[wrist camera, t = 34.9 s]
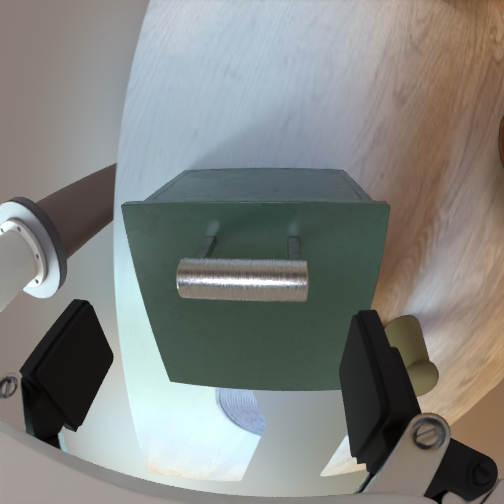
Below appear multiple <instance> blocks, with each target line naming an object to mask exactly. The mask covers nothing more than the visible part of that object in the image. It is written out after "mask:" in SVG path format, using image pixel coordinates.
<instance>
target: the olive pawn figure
mask: <svg viewBox="0 0 504 504" xmlns="http://www.w3.org/2000/svg"><path fill="white" fill-rule="evenodd" d="M384 330H385V333H386V336H387V338H388V341H389V343H390V346H391V347H397V348H398V350H399V352H400V354H401V357H402V359H403V362H404V364H405V367H406V370H407V372H408V375H409V378H410V381H411V383H412V386H413V389H414V392H415V395H416V397H418V396H422V395H424V394H426V393H428V392H429V391H431V390H432V389H433V388H434V387H435V386H436V384H437V382H438V378H439V372H438V370H437V368H436V366H435V365H434V363H432V362H430V360H429V356H428V352H427V349H426V345H425V341H424V338H423V334H422V330H421V327H420V324H419V321H418V319H417V318H415V317H414V316H409V315H407V316H401V317H399V318H396V319H395V320H393V321H391V322H390V323H389V324H388V325H387V326H386V328H385V329H384Z"/></svg>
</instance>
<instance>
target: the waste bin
mask: <svg viewBox="0 0 504 504" xmlns="http://www.w3.org/2000/svg"><path fill="white" fill-rule="evenodd" d="M196 198H323V199H350V200H371V201H373V200H372V199H371V198H370V197H369V196H368V195H367V194H366V193H365V192H364V190H363V189H362V188H361V187H360V186H359V185H358V184H357V183H356V182H355V181H354V180H353V179H352V178H351V177H350V176H349V175H348V174H347V173H346V172H345V171H344V170H333V169H306V168H234V169H206V170H187V171H183V172H182V173H180V174H179V175H178V176H176V177H175V178H173V179H172V180H171V181H169V182H168V183H167V184H165V185H164V186H163V187H161V188H160V189H159V190H157V191H156V192H155V193H153V194H152V195H151V196H149V197H148V198H147V199H145V200H144V201H148V200H169V199H196Z"/></svg>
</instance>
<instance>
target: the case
mask: <svg viewBox="0 0 504 504" xmlns="http://www.w3.org/2000/svg"><path fill="white" fill-rule="evenodd" d="M500 155H501V160H502V164H503V167H504V117H503V119H502V122H501V126H500Z"/></svg>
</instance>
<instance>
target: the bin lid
mask: <svg viewBox="0 0 504 504" xmlns="http://www.w3.org/2000/svg"><path fill="white" fill-rule="evenodd" d="M121 208H122V214H123V219H124V224H125V229H126V234H127V238H128V243H129V247H130V251H131V256H132V260H133V264H134V268H135V272H136V276H137V280H138V284H139V287H140V291H141V295H142V298H143V302H144V305H145V308H146V312H147V315H148V318H149V322H150V325H151V328H152V331H153V334H154V337H155V340H156V343H157V346H158V349H159V352H160V355H161V358H162V361H163V363H164V366H165V369H166V372H167V374H168V377H169V380H170V381H171V382H177V383H184V384H192V385H200V386H210V387H220V388H233V389H248V390H271V391H317V390H318V391H321V390H341V384H340V378H339V367H340V363H341V359H342V356H343V352H344V348H345V344H346V340H347V336H348V332H349V328H350V324H351V319H352V316H353V315H357V313H358V311H359V310H370V308H371V304H372V300H373V296H374V292H375V287H376V283H377V278H378V273H379V269H380V264H381V259H382V253H383V248H384V242H385V236H386V230H387V224H388V217H389V210H390V205H389V204H388V203H387V202H386V201H371V200H350V199H323V198H196V199H169V200H148V201H131V202H125V203H124V204H123V205H121Z"/></svg>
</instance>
